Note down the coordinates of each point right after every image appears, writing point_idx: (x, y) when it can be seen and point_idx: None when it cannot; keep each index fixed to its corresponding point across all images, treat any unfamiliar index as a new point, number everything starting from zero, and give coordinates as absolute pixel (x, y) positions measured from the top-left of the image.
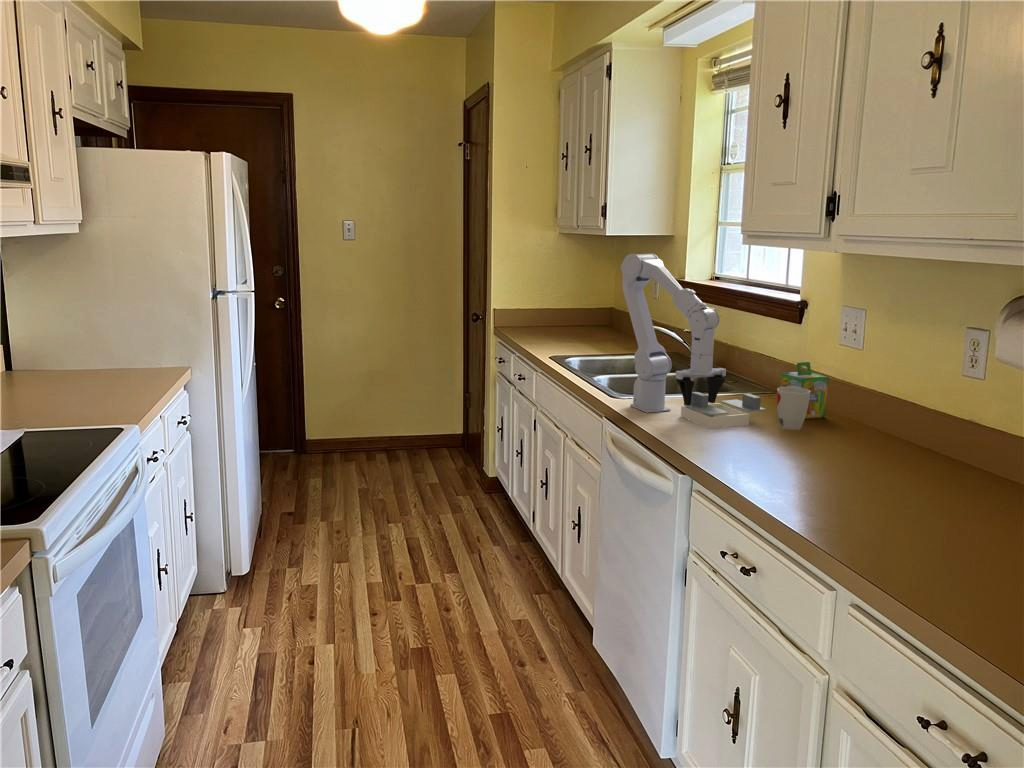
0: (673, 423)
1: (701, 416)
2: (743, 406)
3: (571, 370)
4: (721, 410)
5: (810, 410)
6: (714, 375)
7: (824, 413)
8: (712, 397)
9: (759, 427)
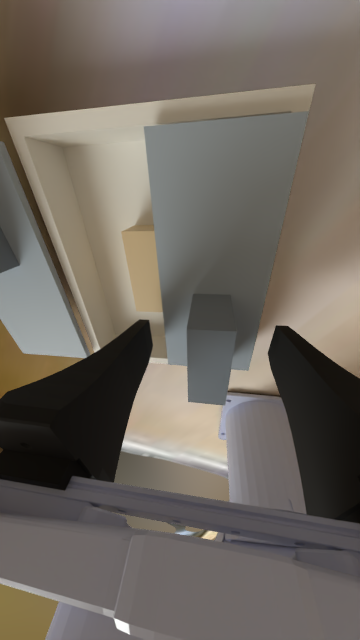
0: (348, 281)
1: None
2: (14, 252)
3: (204, 529)
4: (161, 203)
5: None
6: (63, 485)
7: None
8: (140, 341)
9: (7, 55)
